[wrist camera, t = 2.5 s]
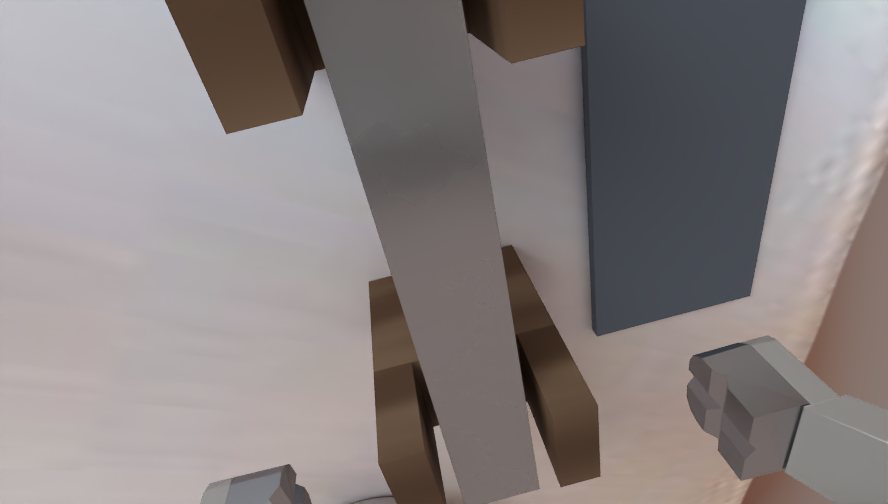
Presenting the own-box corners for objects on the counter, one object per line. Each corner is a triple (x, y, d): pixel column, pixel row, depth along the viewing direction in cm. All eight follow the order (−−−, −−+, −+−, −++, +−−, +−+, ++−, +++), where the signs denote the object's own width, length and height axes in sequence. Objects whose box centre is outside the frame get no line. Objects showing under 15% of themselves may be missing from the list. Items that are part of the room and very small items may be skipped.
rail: (251, -214, 10) (218, -268, 7) (396, -248, 10) (411, -312, 7) (453, 444, 22) (466, 508, 19) (518, 426, 22) (539, 488, 19)
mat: (567, -296, 14) (575, -304, 14) (859, -363, 15) (877, -374, 14) (592, 329, 28) (596, 336, 27) (742, 289, 28) (750, 295, 28)
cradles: (238, -86, 16) (108, -122, 7) (456, -138, 16) (575, -229, 8) (389, 341, 26) (408, 528, 18) (520, 306, 26) (600, 476, 18)
